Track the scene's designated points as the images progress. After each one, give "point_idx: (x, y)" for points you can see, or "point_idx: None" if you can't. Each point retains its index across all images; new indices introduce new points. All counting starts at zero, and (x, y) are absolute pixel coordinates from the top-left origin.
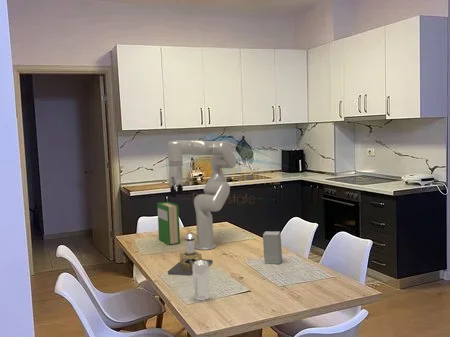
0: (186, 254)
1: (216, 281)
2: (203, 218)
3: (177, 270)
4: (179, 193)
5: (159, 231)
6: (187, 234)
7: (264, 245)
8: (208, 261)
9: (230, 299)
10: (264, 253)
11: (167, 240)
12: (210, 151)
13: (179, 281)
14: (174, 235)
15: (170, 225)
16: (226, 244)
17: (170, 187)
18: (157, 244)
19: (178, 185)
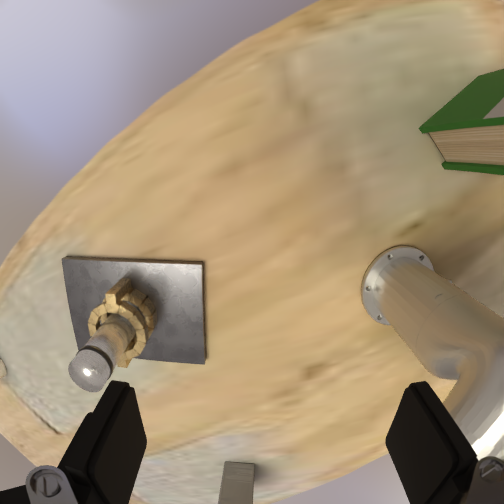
0: (105, 320)
1: (68, 384)
2: (426, 357)
3: (75, 286)
4: (399, 417)
5: (494, 74)
6: (75, 368)
7: (219, 497)
8: (183, 356)
9: (16, 405)
10: (222, 480)
11: (435, 119)
12: None
13: (35, 305)
14: (457, 148)
15: (478, 132)
16: None
17: (1, 493)
18: (427, 79)
19: (471, 495)
